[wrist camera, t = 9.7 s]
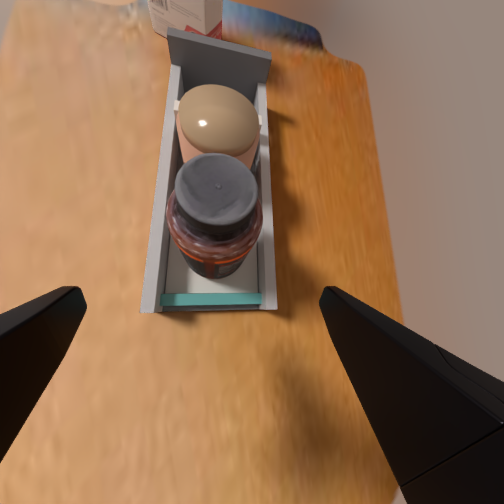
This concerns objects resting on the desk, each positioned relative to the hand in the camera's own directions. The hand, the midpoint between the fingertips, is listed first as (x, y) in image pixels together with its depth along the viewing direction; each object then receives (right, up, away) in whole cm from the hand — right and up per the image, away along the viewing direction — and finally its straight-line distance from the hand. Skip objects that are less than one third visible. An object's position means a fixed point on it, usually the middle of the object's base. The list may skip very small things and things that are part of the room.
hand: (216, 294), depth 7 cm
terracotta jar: (-3, +10, +15) cm, 18 cm away
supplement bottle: (-2, +2, +13) cm, 13 cm away
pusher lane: (-3, +9, +15) cm, 18 cm away
